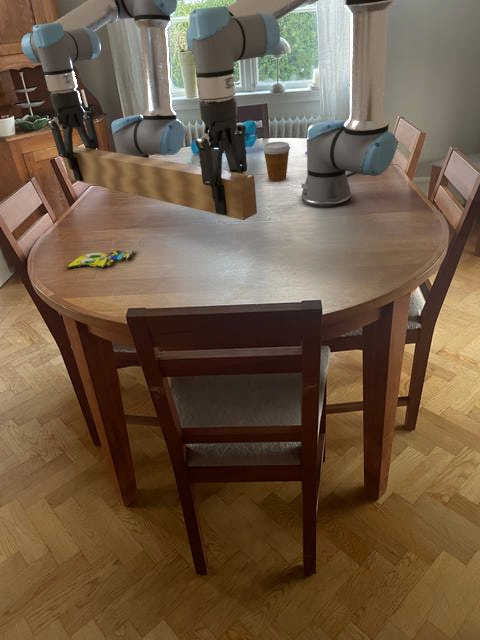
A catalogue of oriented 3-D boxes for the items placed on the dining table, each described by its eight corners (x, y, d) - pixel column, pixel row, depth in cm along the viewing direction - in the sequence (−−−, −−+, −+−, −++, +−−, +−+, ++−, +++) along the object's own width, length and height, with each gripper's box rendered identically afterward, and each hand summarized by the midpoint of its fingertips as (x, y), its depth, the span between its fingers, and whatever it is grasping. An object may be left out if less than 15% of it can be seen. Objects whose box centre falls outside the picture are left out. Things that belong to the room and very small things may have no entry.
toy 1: (121, 265, 120) (65, 266, 122) (122, 268, 120) (66, 269, 122) (134, 248, 128) (81, 249, 130) (135, 251, 129) (82, 251, 131)
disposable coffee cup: (260, 182, 170) (258, 147, 164) (269, 174, 177) (267, 141, 171) (286, 183, 167) (285, 148, 160) (294, 175, 174) (293, 141, 168)
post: (68, 178, 144) (60, 149, 139) (81, 174, 146) (73, 145, 142) (243, 220, 105) (240, 181, 100) (257, 213, 107) (254, 175, 103)
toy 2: (195, 134, 218) (257, 114, 208) (203, 157, 223) (264, 139, 213) (184, 143, 204) (250, 123, 194) (193, 168, 209) (257, 149, 199)
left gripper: (41, 97, 121) (67, 188, 134) (99, 85, 132) (118, 170, 144) (26, 96, 125) (53, 184, 138) (83, 84, 136) (103, 167, 149)
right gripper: (200, 108, 89) (215, 226, 102) (259, 91, 100) (265, 199, 112) (172, 106, 93) (190, 219, 106) (232, 90, 104) (241, 194, 117)
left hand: (86, 177), depth 141 cm, fingers closed on post, 5 cm apart
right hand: (229, 209), depth 109 cm, fingers closed on post, 5 cm apart
